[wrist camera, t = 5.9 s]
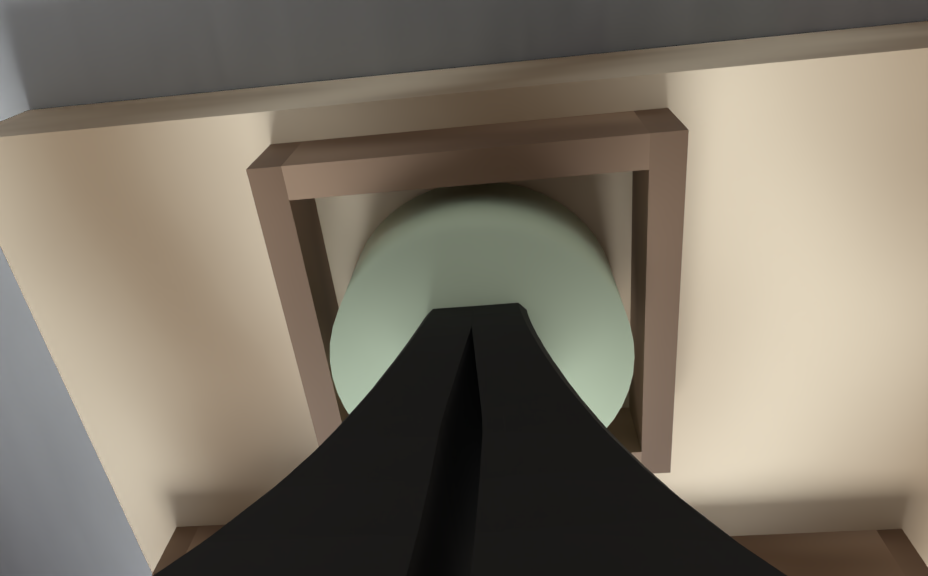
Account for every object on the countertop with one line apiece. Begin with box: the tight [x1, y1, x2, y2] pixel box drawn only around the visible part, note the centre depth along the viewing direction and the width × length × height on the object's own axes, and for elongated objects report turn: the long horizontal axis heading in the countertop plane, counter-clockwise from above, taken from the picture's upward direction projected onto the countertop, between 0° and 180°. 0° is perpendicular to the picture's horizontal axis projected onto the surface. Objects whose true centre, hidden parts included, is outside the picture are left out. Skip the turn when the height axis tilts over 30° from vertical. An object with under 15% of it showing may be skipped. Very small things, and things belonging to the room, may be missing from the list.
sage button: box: [330, 182, 635, 428], centre depth 11 cm, size 4×4×2 cm
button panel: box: [0, 21, 928, 576], centre depth 14 cm, size 17×16×3 cm
